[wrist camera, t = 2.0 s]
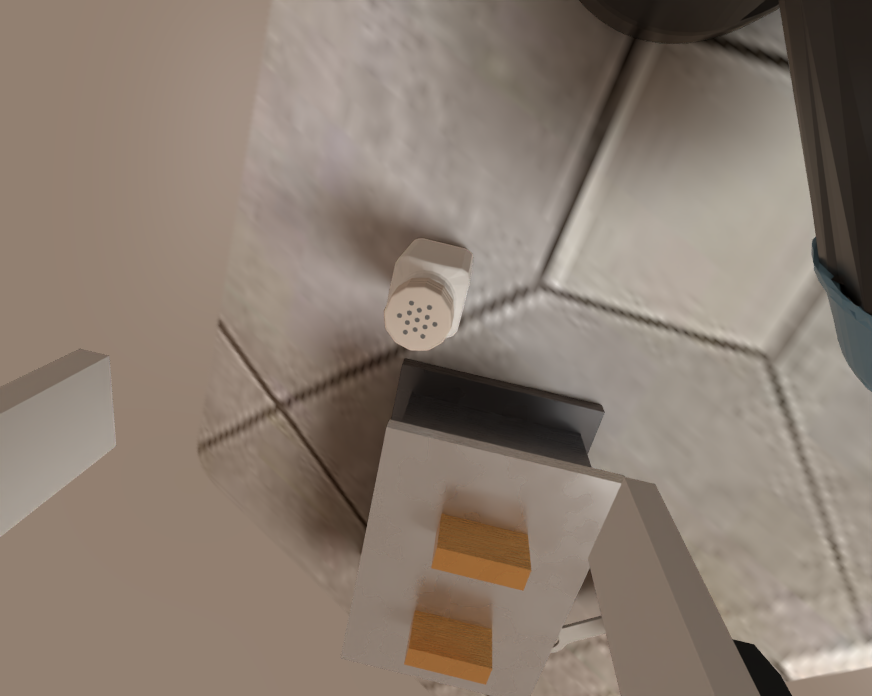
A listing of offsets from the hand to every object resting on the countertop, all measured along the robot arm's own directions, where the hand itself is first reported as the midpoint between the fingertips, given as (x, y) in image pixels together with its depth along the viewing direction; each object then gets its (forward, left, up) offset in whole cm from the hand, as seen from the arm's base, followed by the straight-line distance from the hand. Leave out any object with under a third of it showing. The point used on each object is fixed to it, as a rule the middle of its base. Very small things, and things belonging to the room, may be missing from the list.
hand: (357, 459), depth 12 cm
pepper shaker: (0, 0, -20) cm, 20 cm away
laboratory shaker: (+16, +6, -20) cm, 26 cm away
